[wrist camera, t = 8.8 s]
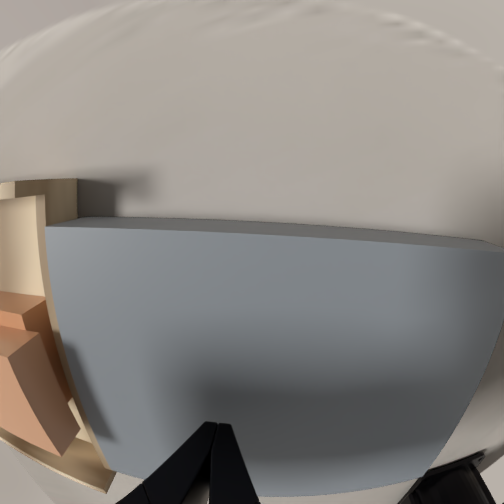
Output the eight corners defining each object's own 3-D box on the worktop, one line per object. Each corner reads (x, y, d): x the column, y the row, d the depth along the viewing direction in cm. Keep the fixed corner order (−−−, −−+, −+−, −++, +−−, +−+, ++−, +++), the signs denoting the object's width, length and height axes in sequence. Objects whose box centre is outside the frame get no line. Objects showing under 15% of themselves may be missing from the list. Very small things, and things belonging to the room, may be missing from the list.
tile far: (49, 297, 10) (21, 314, 8) (78, 389, 11) (59, 413, 9) (-9, 289, 10) (-34, 302, 8) (17, 370, 12) (-2, 387, 10)
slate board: (481, 240, 9) (520, 254, 7) (409, 446, 12) (422, 476, 10) (85, 216, 10) (44, 226, 7) (126, 438, 13) (111, 469, 10)
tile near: (39, 332, 8) (7, 357, 6) (80, 428, 9) (61, 457, 7) (-22, 319, 9) (-48, 336, 7) (14, 404, 10) (-5, 424, 8)
